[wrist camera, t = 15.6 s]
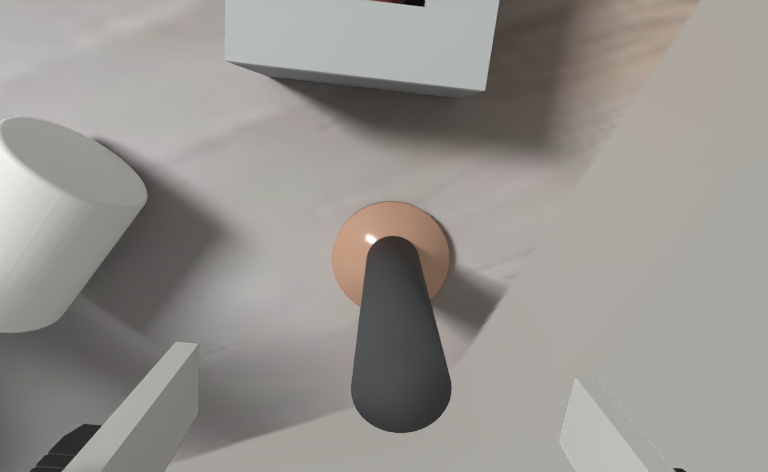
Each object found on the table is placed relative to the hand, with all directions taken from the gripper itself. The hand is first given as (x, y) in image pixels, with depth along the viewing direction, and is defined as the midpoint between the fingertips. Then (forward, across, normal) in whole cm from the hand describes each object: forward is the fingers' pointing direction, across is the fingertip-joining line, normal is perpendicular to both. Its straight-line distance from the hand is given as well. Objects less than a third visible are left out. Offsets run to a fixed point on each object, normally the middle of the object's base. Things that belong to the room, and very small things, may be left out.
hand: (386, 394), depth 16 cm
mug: (+17, -22, +2) cm, 28 cm away
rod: (+15, +1, 0) cm, 15 cm away
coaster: (+16, +1, 0) cm, 16 cm away
